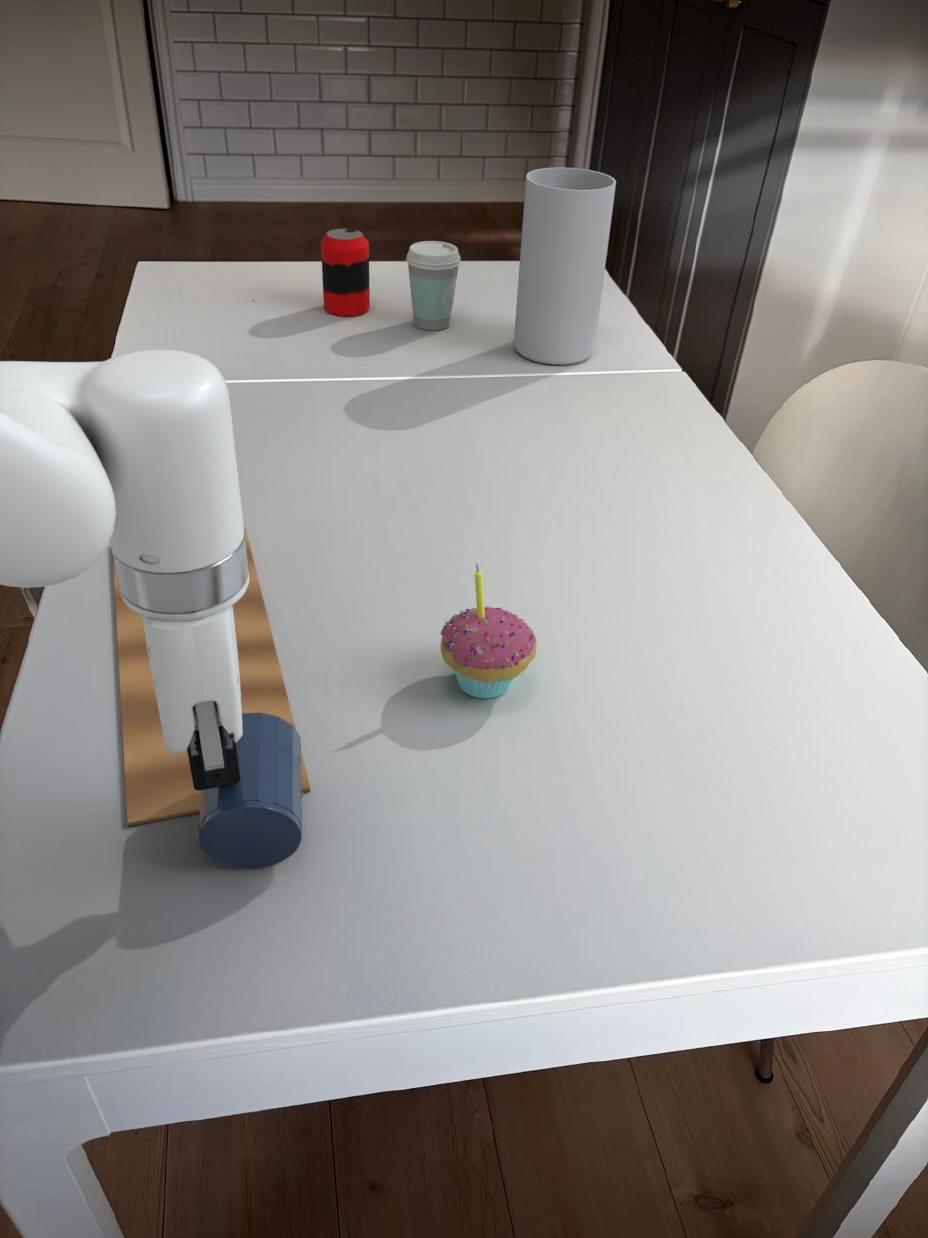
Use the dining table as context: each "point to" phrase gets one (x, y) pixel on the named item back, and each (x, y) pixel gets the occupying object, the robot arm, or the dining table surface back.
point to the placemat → (150, 769)
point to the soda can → (345, 272)
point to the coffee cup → (432, 283)
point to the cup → (256, 799)
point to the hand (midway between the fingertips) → (216, 778)
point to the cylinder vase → (562, 263)
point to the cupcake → (486, 647)
